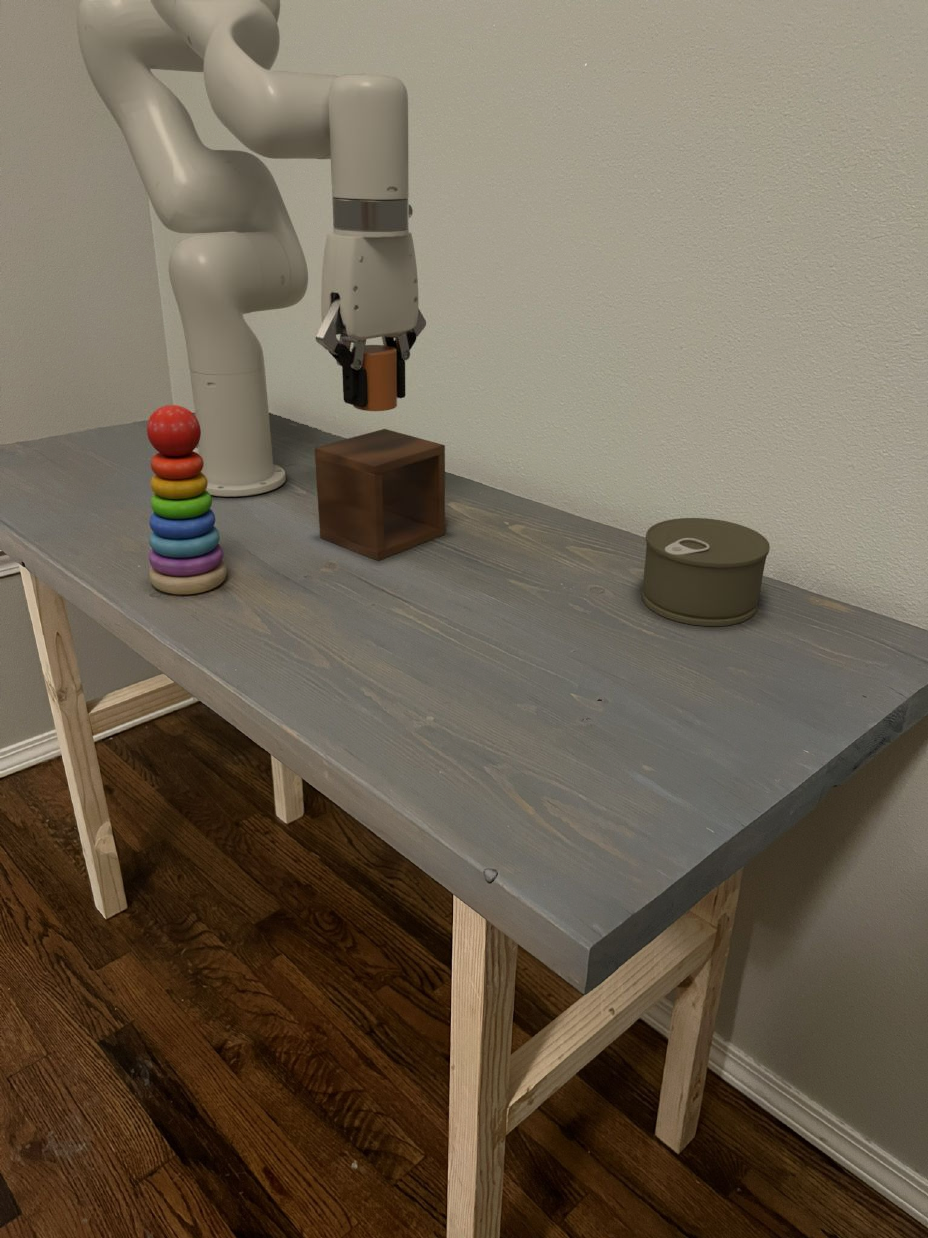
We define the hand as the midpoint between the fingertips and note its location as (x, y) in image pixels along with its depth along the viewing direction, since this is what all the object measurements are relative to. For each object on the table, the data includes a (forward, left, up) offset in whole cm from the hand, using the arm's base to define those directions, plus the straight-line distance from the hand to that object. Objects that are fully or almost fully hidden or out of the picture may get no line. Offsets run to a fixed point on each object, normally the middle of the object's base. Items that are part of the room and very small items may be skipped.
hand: (374, 398), depth 101 cm
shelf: (-1, +2, -17) cm, 17 cm away
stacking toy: (-7, -21, -17) cm, 28 cm away
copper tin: (0, 0, -1) cm, 1 cm away
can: (+35, +12, -17) cm, 41 cm away
